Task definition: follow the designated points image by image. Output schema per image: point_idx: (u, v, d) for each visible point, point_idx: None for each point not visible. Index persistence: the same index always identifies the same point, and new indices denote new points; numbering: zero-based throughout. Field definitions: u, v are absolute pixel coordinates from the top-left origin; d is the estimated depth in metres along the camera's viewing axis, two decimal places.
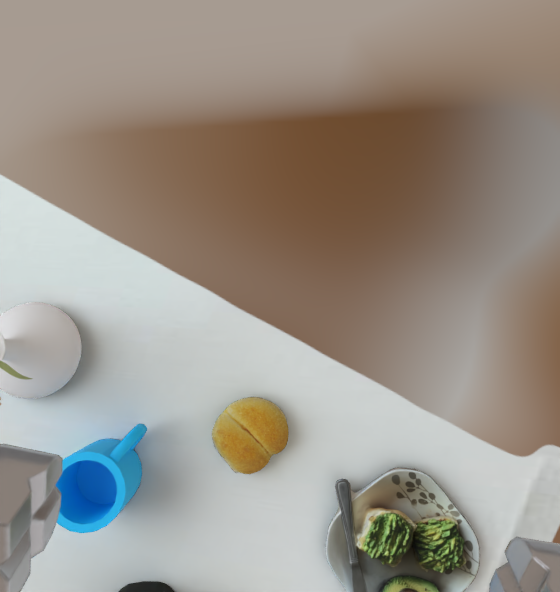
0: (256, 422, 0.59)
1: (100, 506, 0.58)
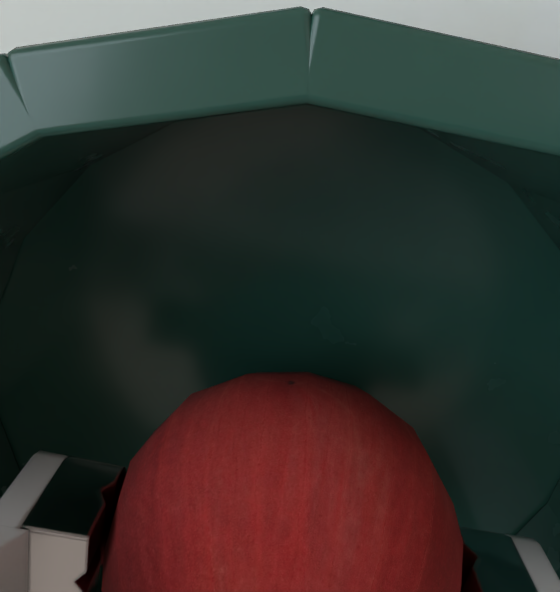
0: None
1: None
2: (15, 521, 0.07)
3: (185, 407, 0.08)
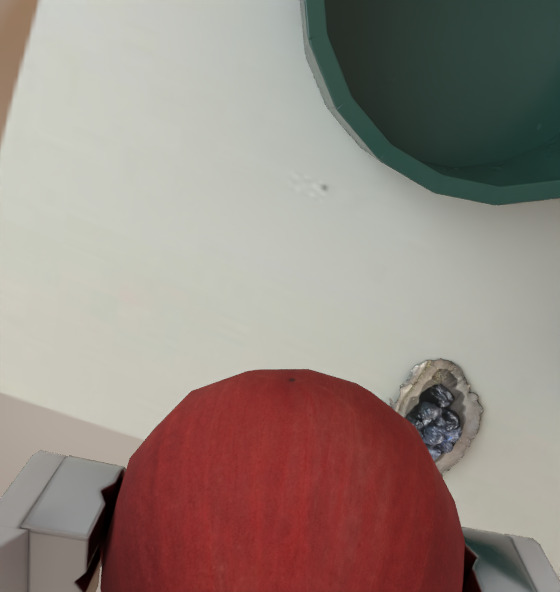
0: None
1: None
2: (15, 521, 0.07)
3: (185, 405, 0.08)
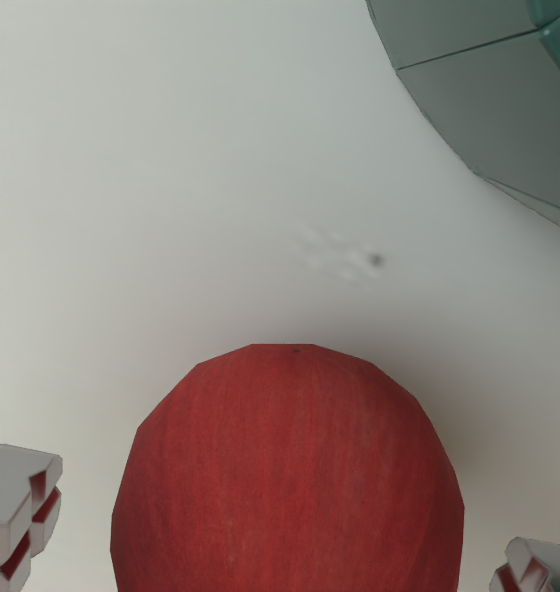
0: None
1: None
2: None
3: (192, 375, 0.08)
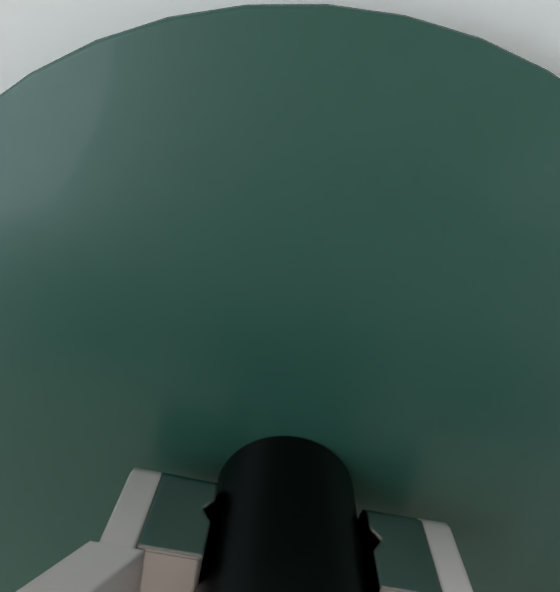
0: None
1: None
2: (130, 541, 0.07)
3: None
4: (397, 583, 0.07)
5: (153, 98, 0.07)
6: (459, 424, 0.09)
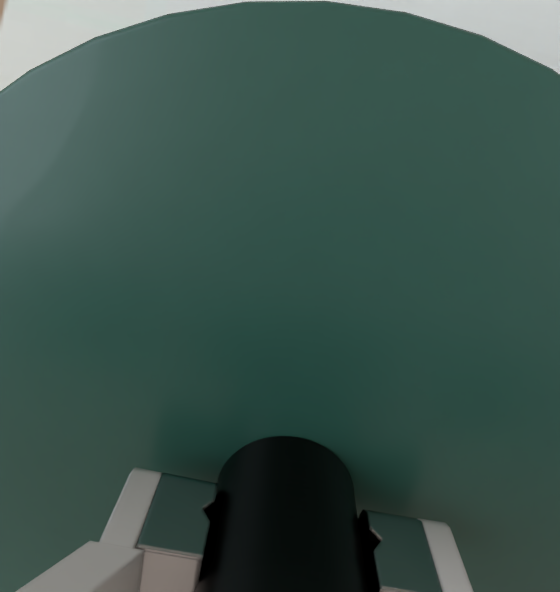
0: None
1: None
2: (129, 541, 0.07)
3: None
4: (397, 583, 0.07)
5: (152, 96, 0.07)
6: (460, 424, 0.09)
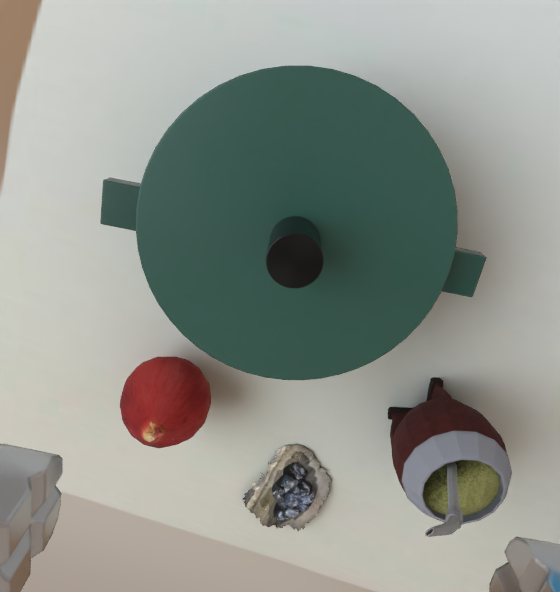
0: None
1: None
2: None
3: (140, 365, 0.33)
4: None
5: (256, 93, 0.23)
6: (357, 211, 0.25)
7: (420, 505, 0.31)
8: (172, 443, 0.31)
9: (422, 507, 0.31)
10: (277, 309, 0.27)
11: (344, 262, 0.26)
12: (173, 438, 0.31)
